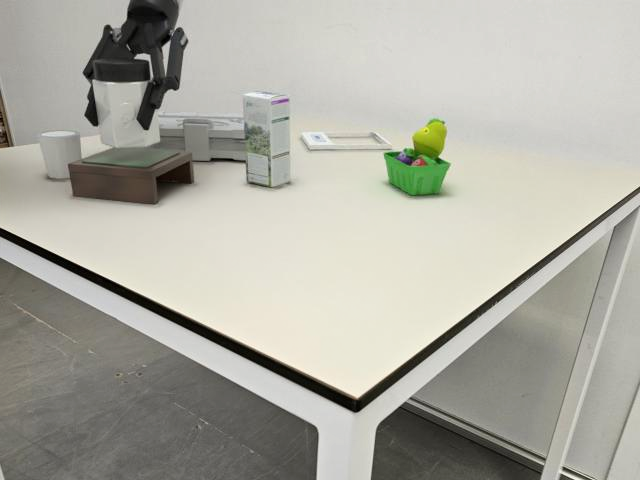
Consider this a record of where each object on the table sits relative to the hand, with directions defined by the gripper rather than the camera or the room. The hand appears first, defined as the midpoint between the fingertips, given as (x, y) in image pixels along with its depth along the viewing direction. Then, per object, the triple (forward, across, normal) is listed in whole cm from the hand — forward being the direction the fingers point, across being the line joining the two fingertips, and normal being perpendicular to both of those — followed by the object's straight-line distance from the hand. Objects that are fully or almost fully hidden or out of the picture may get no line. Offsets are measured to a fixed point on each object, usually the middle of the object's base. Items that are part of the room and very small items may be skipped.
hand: (116, 122), depth 91 cm
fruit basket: (-6, -44, -22) cm, 49 cm away
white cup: (+3, +16, -13) cm, 21 cm away
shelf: (+5, 0, -10) cm, 11 cm away
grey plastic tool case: (-15, +3, -31) cm, 34 cm away
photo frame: (-29, -24, -45) cm, 59 cm away
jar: (0, 0, -5) cm, 5 cm away
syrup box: (-2, -19, -18) cm, 26 cm away
